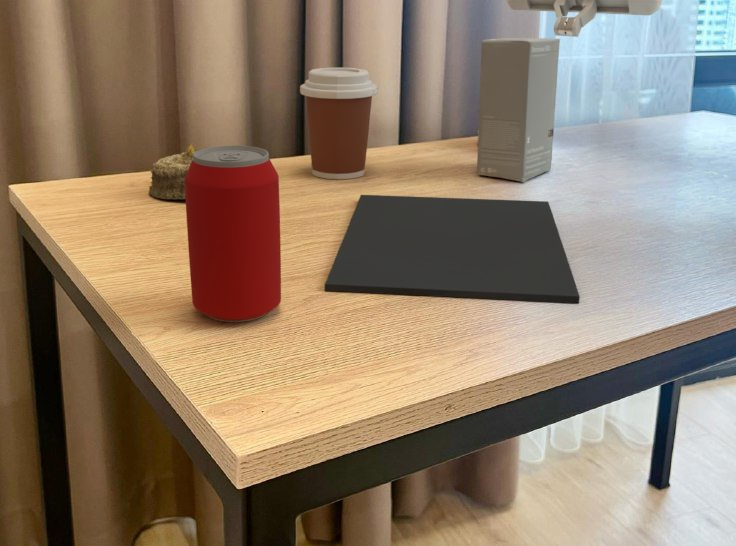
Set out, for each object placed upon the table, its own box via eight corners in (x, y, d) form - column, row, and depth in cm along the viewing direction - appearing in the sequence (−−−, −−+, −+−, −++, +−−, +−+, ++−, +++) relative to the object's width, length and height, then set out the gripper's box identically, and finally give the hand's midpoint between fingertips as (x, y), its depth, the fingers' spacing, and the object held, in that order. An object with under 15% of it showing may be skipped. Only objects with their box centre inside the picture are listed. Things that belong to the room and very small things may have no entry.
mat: (547, 206, 95) (548, 201, 95) (579, 303, 70) (579, 296, 70) (360, 199, 98) (360, 194, 98) (324, 290, 72) (324, 283, 72)
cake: (155, 211, 95) (147, 161, 93) (144, 189, 104) (136, 143, 102) (247, 196, 98) (241, 147, 96) (228, 176, 107) (222, 131, 104)
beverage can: (282, 293, 72) (279, 143, 67) (281, 326, 65) (277, 163, 61) (197, 294, 71) (188, 143, 67) (188, 328, 65) (177, 164, 60)
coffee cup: (356, 185, 104) (358, 78, 99) (287, 176, 107) (285, 73, 102) (387, 168, 111) (390, 69, 106) (321, 161, 115) (321, 64, 110)
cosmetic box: (523, 184, 104) (535, 41, 98) (469, 175, 108) (477, 37, 102) (554, 170, 111) (567, 36, 104) (502, 162, 115) (512, 32, 108)
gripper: (518, -69, 121) (484, 12, 117) (674, -70, 111) (642, 19, 107) (528, -34, 126) (495, 44, 122) (678, -32, 116) (647, 54, 112)
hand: (565, 33), depth 115 cm, fingers closed
